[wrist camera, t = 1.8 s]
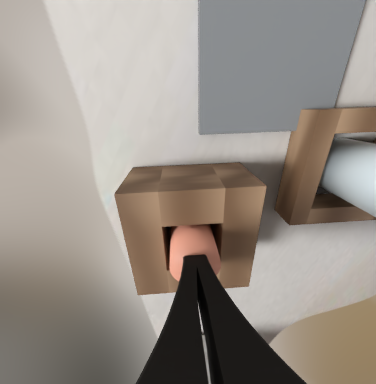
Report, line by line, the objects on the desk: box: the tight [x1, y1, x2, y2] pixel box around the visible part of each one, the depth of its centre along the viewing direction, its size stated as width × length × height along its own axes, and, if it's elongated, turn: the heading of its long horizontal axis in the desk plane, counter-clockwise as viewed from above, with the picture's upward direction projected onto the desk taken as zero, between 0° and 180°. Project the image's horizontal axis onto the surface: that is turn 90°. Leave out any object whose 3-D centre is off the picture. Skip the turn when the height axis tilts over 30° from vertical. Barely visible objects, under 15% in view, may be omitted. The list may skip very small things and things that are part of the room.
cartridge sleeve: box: [275, 107, 376, 225], centre depth 15 cm, size 9×9×2 cm
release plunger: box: [170, 224, 221, 281], centre depth 13 cm, size 3×3×5 cm
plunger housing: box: [114, 163, 267, 295], centre depth 15 cm, size 9×9×5 cm
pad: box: [198, 0, 366, 135], centre depth 12 cm, size 10×10×1 cm
